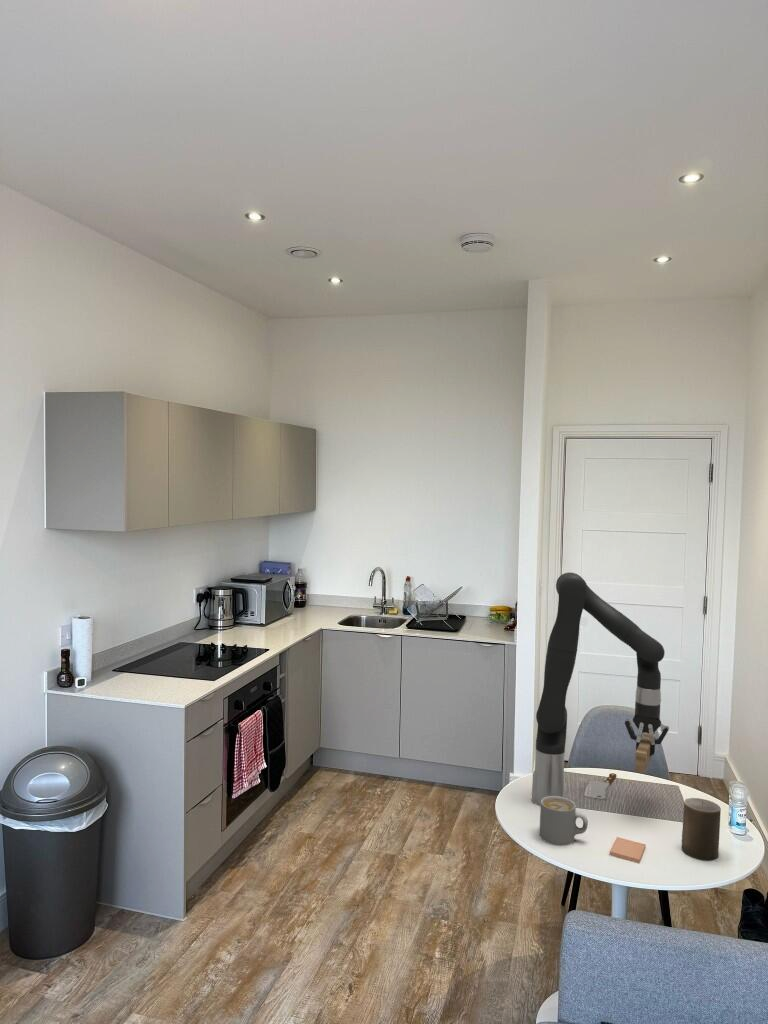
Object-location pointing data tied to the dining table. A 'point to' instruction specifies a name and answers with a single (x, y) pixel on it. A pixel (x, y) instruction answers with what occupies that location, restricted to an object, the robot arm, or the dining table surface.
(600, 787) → the kitchen cleaver
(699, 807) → the pillar candle
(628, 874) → the dining table surface
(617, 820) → the dining table surface
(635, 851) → the tile
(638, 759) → the curved tan slat
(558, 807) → the coffee mug
